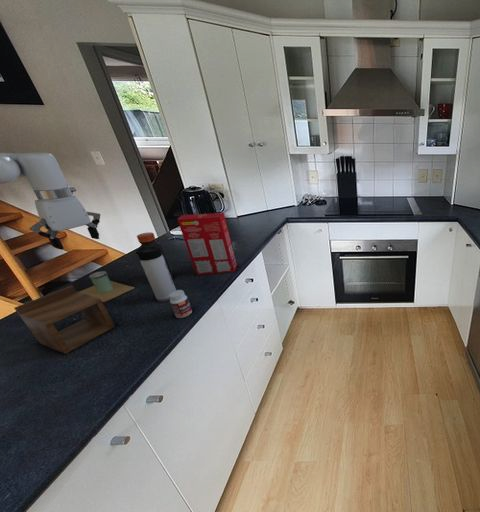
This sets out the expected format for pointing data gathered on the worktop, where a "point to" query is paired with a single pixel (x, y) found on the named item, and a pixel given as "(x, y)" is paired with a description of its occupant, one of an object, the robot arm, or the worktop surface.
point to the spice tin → (101, 282)
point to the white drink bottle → (151, 245)
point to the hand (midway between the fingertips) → (78, 243)
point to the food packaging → (208, 243)
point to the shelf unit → (59, 307)
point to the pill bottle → (180, 304)
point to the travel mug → (156, 272)
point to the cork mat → (109, 295)
